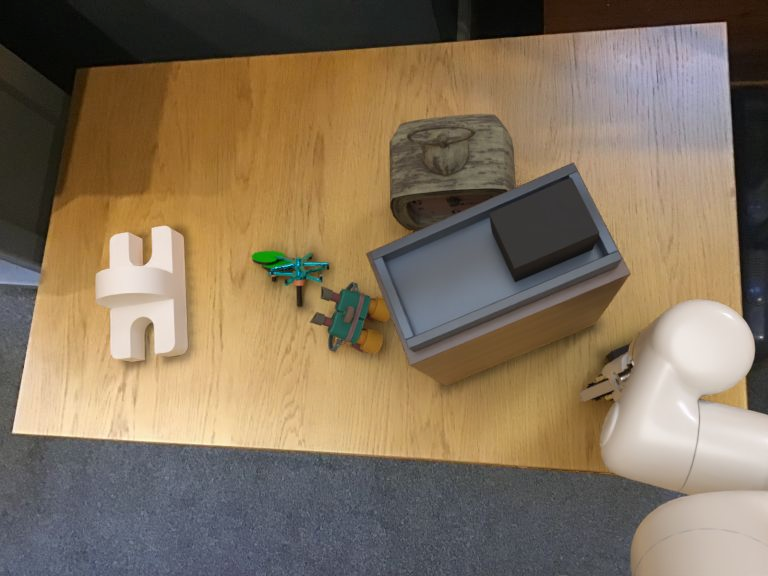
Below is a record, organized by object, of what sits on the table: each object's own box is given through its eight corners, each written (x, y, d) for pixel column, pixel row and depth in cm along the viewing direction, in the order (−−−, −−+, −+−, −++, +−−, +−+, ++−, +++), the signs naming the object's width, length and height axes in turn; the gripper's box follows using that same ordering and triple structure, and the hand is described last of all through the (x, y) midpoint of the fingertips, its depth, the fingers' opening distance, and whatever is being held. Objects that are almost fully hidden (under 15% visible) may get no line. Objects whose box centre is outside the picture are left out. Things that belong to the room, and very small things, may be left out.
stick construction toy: (341, 256, 87) (301, 273, 81) (341, 304, 90) (303, 324, 84) (275, 237, 94) (234, 252, 88) (276, 283, 96) (237, 300, 90)
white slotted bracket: (125, 362, 93) (79, 355, 83) (124, 242, 97) (79, 221, 87) (188, 354, 91) (148, 344, 82) (183, 231, 96) (145, 209, 86)
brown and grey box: (594, 324, 81) (636, 266, 52) (445, 385, 83) (404, 362, 54) (557, 246, 84) (576, 149, 55) (414, 307, 86) (358, 245, 57)
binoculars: (353, 359, 89) (378, 364, 79) (290, 338, 86) (308, 342, 76) (374, 293, 90) (400, 291, 81) (312, 271, 87) (332, 266, 78)
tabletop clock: (407, 240, 88) (365, 170, 64) (406, 177, 90) (365, 86, 66) (517, 233, 86) (516, 157, 62) (513, 168, 87) (511, 70, 64)
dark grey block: (593, 249, 55) (599, 232, 50) (514, 282, 56) (514, 269, 51) (567, 198, 56) (571, 176, 51) (491, 231, 57) (488, 213, 52)
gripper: (601, 432, 61) (584, 431, 78) (783, 361, 59) (725, 376, 76) (566, 358, 63) (557, 372, 80) (742, 287, 61) (694, 317, 78)
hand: (639, 374), depth 78 cm, fingers open, 7 cm apart
